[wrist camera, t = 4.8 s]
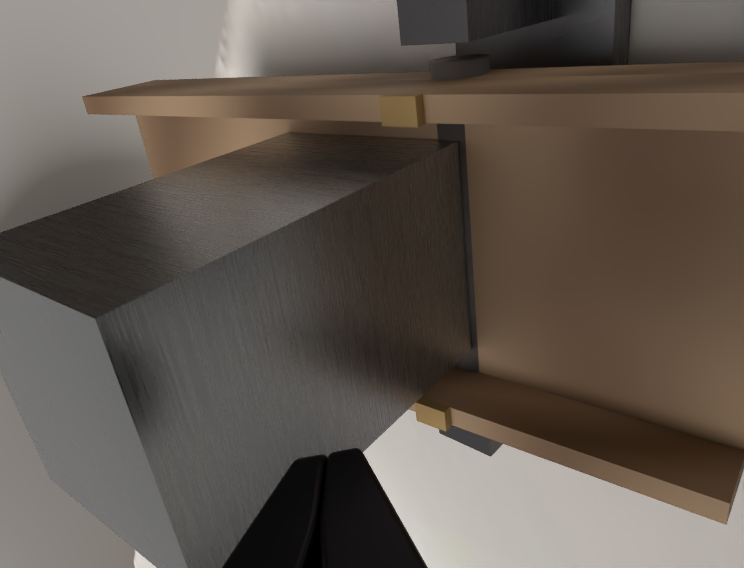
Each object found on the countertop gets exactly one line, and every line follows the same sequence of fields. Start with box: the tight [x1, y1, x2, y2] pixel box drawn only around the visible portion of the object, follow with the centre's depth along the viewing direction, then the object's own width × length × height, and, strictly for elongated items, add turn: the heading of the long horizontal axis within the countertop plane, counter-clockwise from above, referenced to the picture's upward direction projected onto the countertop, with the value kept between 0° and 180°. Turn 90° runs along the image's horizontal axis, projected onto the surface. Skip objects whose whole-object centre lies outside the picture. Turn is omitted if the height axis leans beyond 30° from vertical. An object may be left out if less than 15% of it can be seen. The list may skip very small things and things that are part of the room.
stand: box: [397, 0, 631, 456], centre depth 15 cm, size 4×11×4 cm, turn 11°
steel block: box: [0, 132, 472, 568], centre depth 12 cm, size 5×5×8 cm
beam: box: [82, 54, 744, 524], centre depth 15 cm, size 18×8×3 cm, turn 101°
